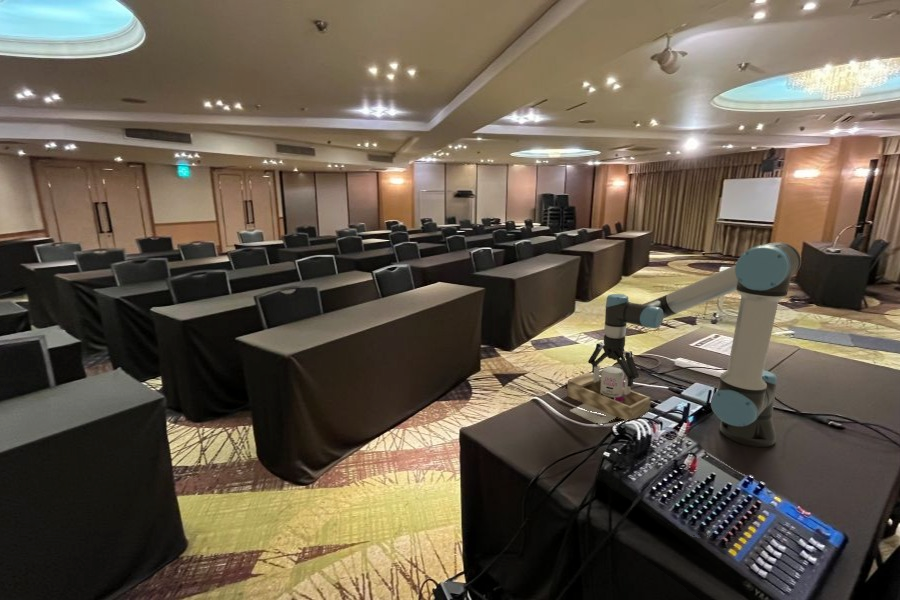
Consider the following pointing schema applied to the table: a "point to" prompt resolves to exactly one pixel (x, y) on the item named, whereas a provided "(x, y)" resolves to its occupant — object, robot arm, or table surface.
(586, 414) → the mat
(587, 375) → the crate
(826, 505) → the table surface
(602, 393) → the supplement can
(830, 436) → the table surface
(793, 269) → the robot arm
